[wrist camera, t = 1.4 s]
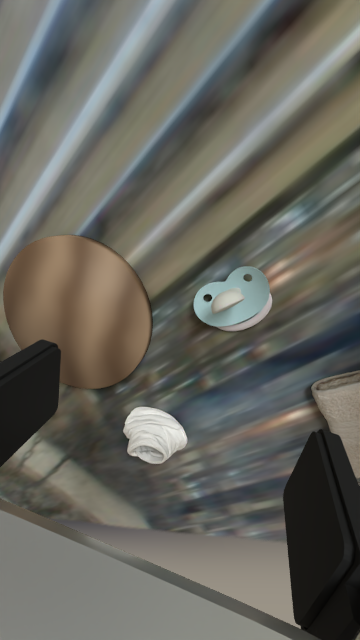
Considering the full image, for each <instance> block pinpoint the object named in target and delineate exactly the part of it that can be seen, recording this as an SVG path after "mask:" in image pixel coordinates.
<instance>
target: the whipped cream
mask: <svg viewBox="0 0 360 640" xmlns="http://www.w3.org/2000/svg"><path fill="white" fill-rule="evenodd" d="M123 432H124V434H125V435H126V436H127V438H129V439H130V440H129V444H128V449H127V452H128V454H130V455H131V456H138V457H140V458H141V459H142V460H144V461H146V462H148V463H152V464H161V463H163V462H164V461H165V460H167V459H168V458H169V457H170V456H171V455H172V454H173V453H175V452H176V451H177V450H181V449H183V448H184V447H185V446H186V444H187V436H186V434H185V431H184V429H183V427H182V426H181V425H180V424H179V423H178V421H177V420H176V419H175V418H174V417H172V416H171V415H170V414H167V413H166V412H164V411H162V410H159V409H155V408H150V407H138V408H135V409H134V410H133V411H131V414H130V415H129V416H128V417H127V419H126V421H125V426H124V430H123Z"/></svg>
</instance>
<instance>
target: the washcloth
mask: <svg viewBox="0 0 360 640" xmlns="http://www.w3.org/2000/svg"><path fill="white" fill-rule="evenodd" d="M311 390H312V395H313V397H314V398H315V401H316V402H317V406H318V407H319V410H320V411H321V413H322V414H323V415H324V418H325V419H327V422H328V425H329V428H330V431H331V433H334V434H337V435H339V436H340V437H341V440H342V442H343V445H344V448H345V450H346V453H347V456H348V458H349V461H350V464H351V466H352V469H353V472H354V474H355V477H356V478H360V370H358V371H355V372H351V373H345V374H341V375H337V376H333V377H328V378H325V379H322V380H319V381H317V382H315V383H314V384H313V385H312V386H311Z"/></svg>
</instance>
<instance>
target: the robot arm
mask: <svg viewBox="0 0 360 640" xmlns="http://www.w3.org/2000/svg"><path fill="white" fill-rule="evenodd" d="M60 363H61V350H60V349H59V348H58V345H57V344H56V343H53V342H50V341H47V340H44V339H41V340H39V341H37V342H35V343H34V344H32V345H30V346H28V347H27V348H25V349H23V350H21V351H20V352H18V353H16V354H14V355H13V356H11V357H9V358H7V359H6V360H4V361H2V362H0V467H1V466H2V465H3V464H4V463H5V462H6V461H7V460H8V459H9V458H10V457H11V456H12V455H13V454H14V453H15V452H16V451H17V450H18V449H19V448H20V447H21V446H22V445H23V444H24V443H25V442H26V441H27V440H28V439H29V438H30V437H31V436H32V435H33V434H35V433H36V432H37V431H38V430H39V429H40V428H41V427H42V426H43V425H44V424H45V423H46V422H47V421H48V420H49V419H50V418H51V417H52V416H53V415H54V414H55V412H56V410H57V408H58V398H59V381H60ZM283 501H284V512H285V523H286V534H287V545H288V557H289V568H290V578H291V590H292V600H293V612H294V619H295V622H296V624H298V625H300V626H301V629H299V628H297V627H295V626H293V625H290V624H288V623H286V622H284V621H282V620H279V619H277V618H275V617H273V616H271V615H269V614H266V613H264V612H262V611H260V610H258V609H255V608H253V607H251V606H249V605H247V604H244V603H242V602H240V601H238V600H236V599H233V598H231V597H229V596H226V595H224V594H222V593H219V592H217V591H215V590H213V589H210V588H208V587H205V586H203V585H201V584H199V583H196V582H194V581H192V580H190V579H187V578H185V577H183V576H180V575H178V574H176V573H173V572H171V571H169V570H166V569H164V568H161V567H160V566H157V565H155V564H153V563H150V562H148V561H146V560H143V559H141V558H139V557H136V556H134V555H131V554H129V553H127V552H125V551H122V550H120V549H118V548H115V547H113V546H111V545H108V544H106V543H103V542H101V541H99V540H97V539H94V538H92V537H89V536H87V535H84V534H83V533H80V532H78V531H75V530H73V529H71V528H69V527H66V526H64V525H62V524H59V523H57V522H55V521H52V520H50V519H47V518H45V517H43V516H40V515H38V514H36V513H33V512H31V511H28V510H26V509H24V508H21V507H19V506H17V505H14V504H12V503H9V502H7V501H5V500H2V499H0V640H360V486H359V485H358V482H357V480H356V477H355V474H354V472H353V469H352V466H351V464H350V461H349V458H348V456H347V453H346V450H345V448H344V445H343V442H342V440H341V437H340V436H339V435H337V434H334V433H331V432H328V431H325V430H322V429H320V430H319V431H318V432H312V433H311V435H310V437H309V439H308V441H307V443H306V445H305V447H304V449H303V451H302V453H301V455H300V457H299V459H298V462H297V464H296V466H295V468H294V470H293V472H292V474H291V476H290V478H289V480H288V482H287V484H286V486H285V489H284V494H283Z"/></svg>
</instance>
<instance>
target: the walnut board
mask: <svg viewBox="0 0 360 640" xmlns="http://www.w3.org/2000/svg"><path fill="white" fill-rule="evenodd" d="M3 301H4V309H5V314H6V318H7V322H8V325H9V328H10V330H11V332H12V334H13V336H14V339H15V340H16V342H17V344H18V345H19V347H20V348H21V350H23V349H25V348H27V347H28V346H30V345H32V344H34V343H35V342H37V341H39V340H41V339H44V340H47V341H50V342H53V343H56V344H57V345H58V348H59V349H60V350H61V363H60V382H62V383H64V384H67V385H70V386H74V387H78V388H85V389H97V388H104V387H108V386H111V385H114V384H116V383H118V382H120V381H121V380H123V379H124V378H126V377H127V376H128V375H129V374H130V373H131V372H132V371H133V370H134V369H135V368H136V367H137V365H138V364H139V363H140V361H141V360H142V359H143V357H144V355H145V354H146V352H147V350H148V347H149V344H150V341H151V336H152V328H153V319H152V310H151V305H150V301H149V298H148V295H147V292H146V290H145V288H144V286H143V284H142V282H141V280H140V278H139V277H138V275H137V274H136V272H135V271H134V270H133V268H132V267H131V266H130V265H129V263H128V262H127V261H126V260H125V259H124V258H123V257H121V256H120V255H119V254H118V253H117V252H115V251H114V250H113V249H111V248H110V247H108V246H106V245H104V244H103V243H101V242H98V241H96V240H94V239H91V238H87V237H83V236H77V235H59V236H52V237H46V238H43V239H40V240H37V241H35V242H33V243H31V244H30V245H28V246H27V247H25V248H24V249H23V250H22V251H21V252H20V253H19V254H18V255H17V256H16V257H15V259H14V260H13V262H12V264H11V265H10V268H9V270H8V272H7V275H6V279H5V283H4V291H3Z"/></svg>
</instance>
